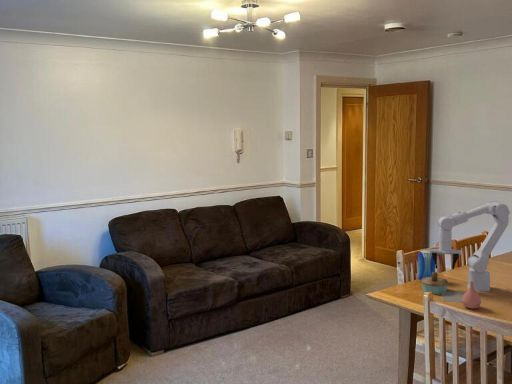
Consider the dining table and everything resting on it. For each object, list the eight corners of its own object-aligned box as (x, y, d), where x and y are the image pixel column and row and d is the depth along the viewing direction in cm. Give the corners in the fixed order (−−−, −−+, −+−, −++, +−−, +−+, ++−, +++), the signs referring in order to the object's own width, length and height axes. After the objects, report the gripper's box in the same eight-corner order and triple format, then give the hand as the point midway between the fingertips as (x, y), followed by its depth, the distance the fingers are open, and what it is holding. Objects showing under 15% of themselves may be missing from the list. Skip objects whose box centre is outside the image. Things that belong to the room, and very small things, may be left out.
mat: (472, 293, 239) (472, 292, 238) (476, 304, 225) (476, 303, 225) (441, 292, 242) (441, 291, 242) (443, 302, 229) (443, 301, 229)
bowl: (445, 288, 248) (445, 279, 247) (447, 295, 237) (447, 286, 237) (421, 286, 251) (422, 278, 250) (423, 294, 240) (423, 285, 240)
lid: (445, 278, 248) (445, 269, 247) (449, 286, 236) (450, 276, 235) (420, 278, 250) (420, 268, 250) (423, 285, 238) (423, 276, 238)
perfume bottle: (474, 304, 225) (474, 278, 223) (484, 310, 217) (485, 283, 216) (458, 306, 223) (458, 280, 222) (468, 312, 216) (468, 285, 214)
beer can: (435, 284, 254) (436, 253, 252) (418, 283, 256) (419, 253, 254) (433, 279, 262) (433, 249, 260) (416, 278, 264) (417, 249, 262)
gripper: (430, 242, 242) (429, 270, 243) (462, 243, 238) (461, 271, 239) (429, 239, 248) (428, 266, 250) (460, 240, 244) (459, 267, 246)
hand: (444, 268), depth 245 cm, fingers open, 7 cm apart
